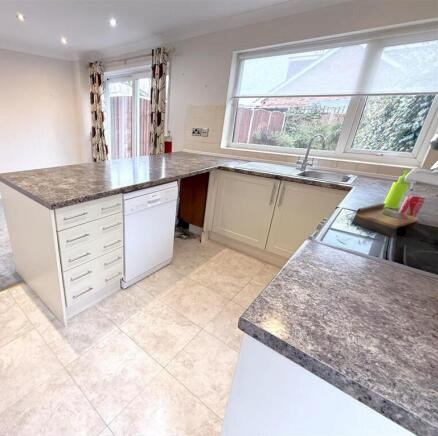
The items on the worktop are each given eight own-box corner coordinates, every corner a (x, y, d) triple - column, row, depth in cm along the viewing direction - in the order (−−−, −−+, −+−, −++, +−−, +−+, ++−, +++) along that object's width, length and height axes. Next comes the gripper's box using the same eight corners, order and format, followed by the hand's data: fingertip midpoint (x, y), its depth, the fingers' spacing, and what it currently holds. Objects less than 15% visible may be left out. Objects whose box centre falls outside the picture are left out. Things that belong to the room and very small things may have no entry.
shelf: (413, 228, 108) (421, 214, 106) (390, 236, 99) (398, 221, 96) (376, 216, 120) (382, 203, 117) (351, 222, 110) (358, 208, 108)
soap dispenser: (397, 210, 130) (416, 173, 122) (381, 206, 135) (398, 170, 127) (400, 208, 133) (419, 172, 125) (384, 204, 138) (401, 169, 130)
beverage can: (394, 215, 123) (406, 192, 118) (410, 218, 120) (423, 195, 115) (398, 219, 118) (410, 195, 113) (415, 222, 115) (428, 198, 110)
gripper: (414, 162, 123) (396, 182, 123) (476, 172, 107) (456, 195, 107) (414, 170, 127) (396, 190, 127) (474, 181, 111) (453, 203, 110)
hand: (424, 192), depth 117 cm, fingers open, 8 cm apart
